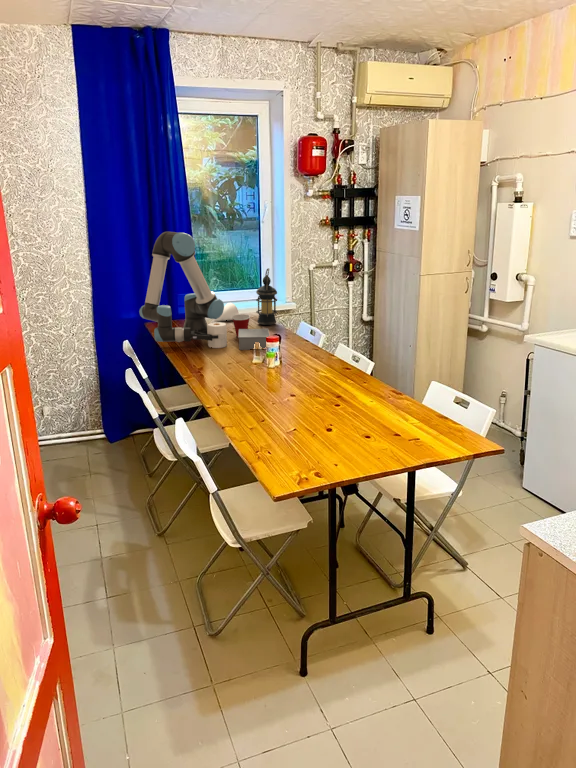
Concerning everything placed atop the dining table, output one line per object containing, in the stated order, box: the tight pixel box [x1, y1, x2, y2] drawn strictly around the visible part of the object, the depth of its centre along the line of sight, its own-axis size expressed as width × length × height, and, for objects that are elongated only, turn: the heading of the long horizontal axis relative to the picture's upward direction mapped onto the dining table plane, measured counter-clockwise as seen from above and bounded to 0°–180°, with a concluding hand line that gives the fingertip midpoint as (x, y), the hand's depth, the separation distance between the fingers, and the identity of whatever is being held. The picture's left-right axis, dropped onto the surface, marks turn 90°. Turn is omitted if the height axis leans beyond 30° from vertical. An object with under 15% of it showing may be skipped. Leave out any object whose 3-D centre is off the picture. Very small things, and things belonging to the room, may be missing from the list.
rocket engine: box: [210, 302, 240, 323], centre depth 382 cm, size 12×12×18 cm
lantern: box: [255, 268, 278, 326], centre depth 370 cm, size 14×13×35 cm
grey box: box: [237, 328, 270, 351], centre depth 327 cm, size 19×17×7 cm
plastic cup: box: [232, 313, 251, 338], centre depth 345 cm, size 11×11×12 cm
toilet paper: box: [207, 321, 228, 349], centre depth 325 cm, size 10×10×12 cm
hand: (224, 334), depth 325 cm, fingers closed on toilet paper, 10 cm apart
